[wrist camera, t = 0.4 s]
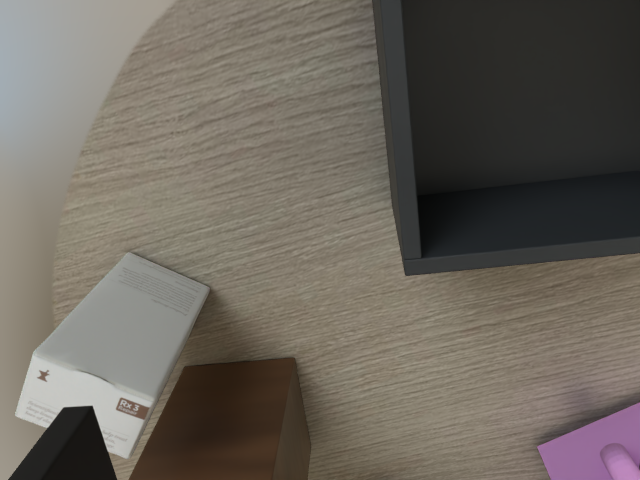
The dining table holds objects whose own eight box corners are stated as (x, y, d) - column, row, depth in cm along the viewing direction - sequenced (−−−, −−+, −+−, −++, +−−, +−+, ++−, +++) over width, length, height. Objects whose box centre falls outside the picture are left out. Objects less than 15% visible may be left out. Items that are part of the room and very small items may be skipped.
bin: (392, 206, 33) (405, 276, 24) (370, -19, 29) (376, -36, 20) (661, 176, 32) (784, 239, 23) (684, -69, 27) (850, -113, 18)
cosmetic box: (110, 299, 37) (4, 421, 26) (130, 245, 35) (24, 350, 24) (194, 335, 38) (126, 469, 27) (217, 283, 36) (154, 402, 25)
